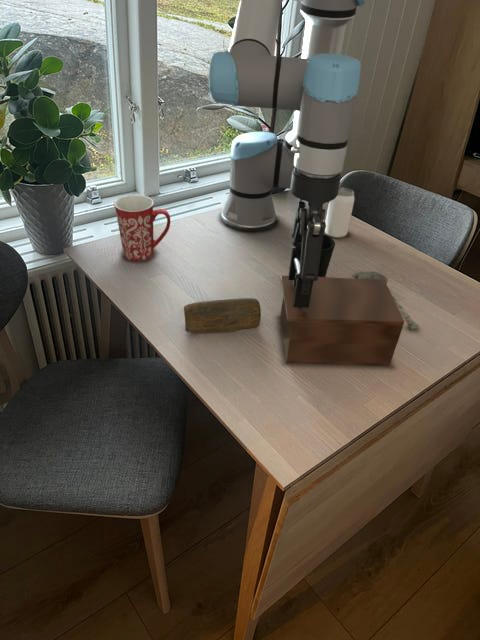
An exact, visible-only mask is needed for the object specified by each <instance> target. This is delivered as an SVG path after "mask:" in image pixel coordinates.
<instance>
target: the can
mask: <svg viewBox="0 0 480 640" xmlns="http://www.w3.org/2000/svg"><path fill="white" fill-rule="evenodd" d="M354 203H355V191H354V190H353V189H351V188H347V187H340V186H339V191H338V195H337V197H336V198H335V199H334V200H332V201H328V205H327V210H326V214H325V221H324V222H325V223H326V228H325V232H324V234H325V235H327V236H329V237H331V238H336V239H337V238H338V239H340V238H344V237H346V236H347V235H348V232H349V227H350V223H351V220H352V219H351V217H352V214H353V209H354Z"/></svg>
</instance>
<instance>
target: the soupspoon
mask: <svg viewBox="0 0 480 640" xmlns="http://www.w3.org/2000/svg"><path fill="white" fill-rule="evenodd" d="M356 278H358V279H384V280H385V281H386V284H387V285H388V281H389V279H388V277H387V276H385V275H384V274H382V273H381V272H377V271H365V272H362V273H360V274H358V275H357V276H356ZM392 296H393V298H394V300H395V303H396V305H397V307H398V309H399V310H401V311H402V312H401V313H403V314H404V315H405V318H406V320H407V322H408V323H409V329H410V330H415V329H417V328H418V327H419V323H416V321H414V320H413V318H412V316H411V315H410V314H409V313H408V311H406V309H405V308H404V307H403V305H402V304H401V303H400V302H399V301H398V300H397V299H396V297H395V296H394V295H393V294H392Z"/></svg>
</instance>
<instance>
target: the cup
mask: <svg viewBox="0 0 480 640" xmlns="http://www.w3.org/2000/svg"><path fill="white" fill-rule="evenodd" d="M335 247H336V241H335V240H334V238H333V237H331V236H328V235H327V234H324V236H323V242H322V249H321V256H320V264H319V271H318V277H327V273H328V270H329V266H330V263H331V260H332V256H333V253H334V250H335Z"/></svg>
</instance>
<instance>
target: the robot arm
mask: <svg viewBox="0 0 480 640" xmlns="http://www.w3.org/2000/svg"><path fill="white" fill-rule="evenodd" d="M295 1H296V2H297V1H298V2H300V9H299V13H300V14H301V15H302V17H303V18H304V19H305V27H304V36H303V43H302V52H301V57H292V56H291V57H290V56H281V55H275V49H276V43H277V36H278V29H279V23H280V15H281V10H282V3H283V2H284V0H239V4H238V9H237V13H236V18H235V21H234V25H233V30H232V36H231V37H230V43H229V47H228V50H225V51H216V52H214V53H213V54H212V55H211V58H210V60H209V61H210V62H209V69H208V91H209V96H210V99H211V100H212V102H214V103H216V104H221V105H227V106H232V107H245V108H261V109H273V110H281V111H282V110H283V111H292V112H294V115H293V116H294V118H293V125H292V130H290V131H289V132H287V133H286V135H285V141H282V140H281V141H280V140H279V139H278V136H277V135H276V134H275V133H274V132H269V131H251V132H245V133H242V134H240V135H238V136H236V137H235V138H234V139H233V140H232V143H231V149H230V150H231V151H230V154H229V159H230V167H229V168H230V171H229V190H228V194H227V197H226V199H225V201H224V205H223V207H222V209H221V220H222V222H223V223H224V224H225V225H226V226H228V227H230V228H232V229H235V230H238V231H243V232H259V231H265V230H267V229H270V228H271V227H273V226H274V225H275V223H276V218H277V216H276V215H277V214H276V210H275V205H274V201H273V196H272V193H273V192H272V191H273V188H277V189H285V190H286V189H287V190H290V193H291V194H292V196H293V197H295V198H297V206H296V208H295V209H296V210H295V215H294V222H293V227H292V233H291V239H293V240H292V242H291V243H292V247H291V255H290V262H289V267H288V275H287V276H288V280H294V277H295V278H297V281H296V288H295V294H294V301H293V307H301V308H309V303H310V298H311V292H312V286H313V281H317V279H318V271H319V264H320V256H321V249H322V242H323V236H324V235H325V228H326V223H325V221H324V220H325V219H326V209H325V208H324V204H326V203H329V201H332V200H334V199H335V198H336V197H337V195H338V191H339V187H340V184H341V181H342V175H341V172H343V170H344V166H345V161H346V155H347V150H348V145H349V144H348V141H349V134H350V130H351V126H352V125H351V124H352V121H353V120H352V119H353V115H354V110H355V106H356V100H357V96H358V93H359V90H360V78H361V72H362V64H361V62H360V60H359V59H357V58H355V57H352V56H350V55H347V54H342V51H343V45H344V40H345V35H346V34H345V33H346V27H347V24H348V23H349V22H350V21H352V20H353V19H354V18H355V16H356V13H357V8H358V7H362V6H363V5H364V6H365V4H366V0H295ZM297 254H301V261H300V273H295V270H296V269H295V265H294V260H293V259H294V256H295V255H297Z"/></svg>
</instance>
